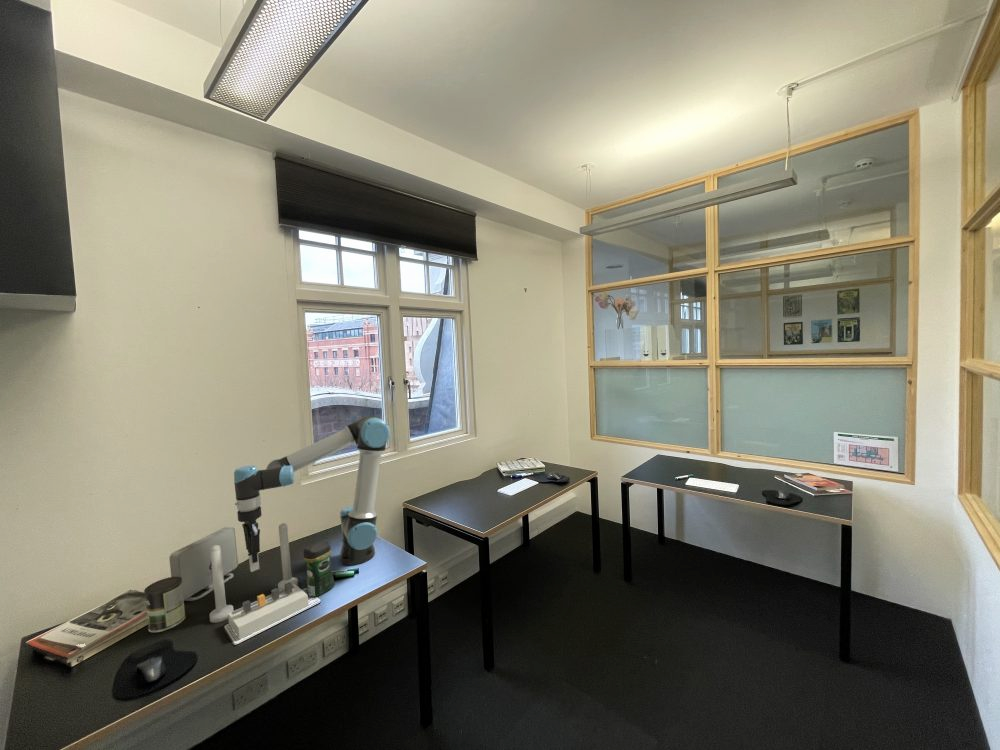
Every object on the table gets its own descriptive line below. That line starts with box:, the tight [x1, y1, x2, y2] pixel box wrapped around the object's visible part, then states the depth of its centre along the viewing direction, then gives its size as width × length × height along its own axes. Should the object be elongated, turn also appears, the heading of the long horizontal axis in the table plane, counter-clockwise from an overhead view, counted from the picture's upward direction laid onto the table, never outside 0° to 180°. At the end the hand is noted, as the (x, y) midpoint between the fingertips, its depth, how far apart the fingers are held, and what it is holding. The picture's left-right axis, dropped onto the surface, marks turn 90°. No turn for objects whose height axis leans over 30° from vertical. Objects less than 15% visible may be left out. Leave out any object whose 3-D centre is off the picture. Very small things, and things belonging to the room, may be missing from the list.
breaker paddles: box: [241, 582, 294, 615], centre depth 142 cm, size 17×2×4 cm, turn 138°
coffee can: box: [143, 576, 186, 634], centre depth 141 cm, size 10×10×14 cm
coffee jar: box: [303, 539, 335, 597], centre depth 156 cm, size 10×8×19 cm
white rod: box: [277, 522, 299, 591], centre depth 160 cm, size 7×7×26 cm
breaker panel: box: [228, 584, 309, 640], centre depth 142 cm, size 22×12×4 cm, turn 138°
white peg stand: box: [209, 545, 235, 624], centre depth 143 cm, size 7×7×26 cm
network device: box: [168, 526, 239, 602], centre depth 164 cm, size 26×9×20 cm, turn 168°
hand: (254, 569), depth 151 cm, fingers closed
